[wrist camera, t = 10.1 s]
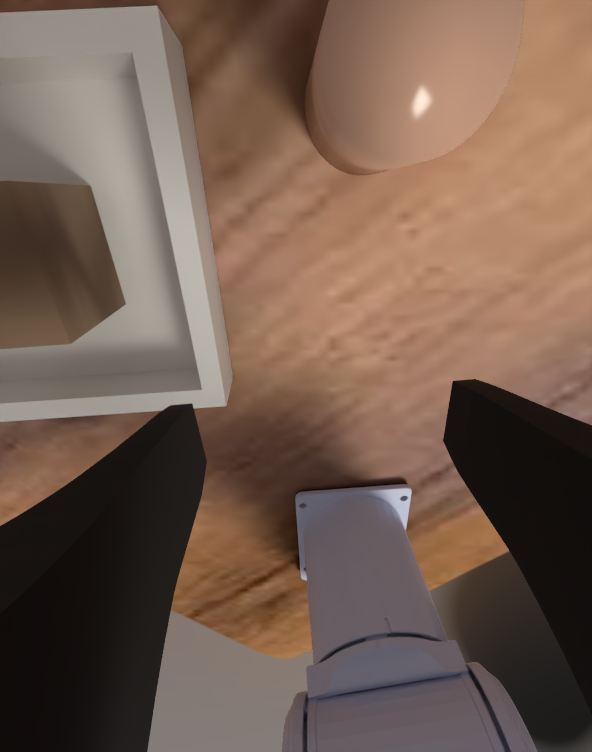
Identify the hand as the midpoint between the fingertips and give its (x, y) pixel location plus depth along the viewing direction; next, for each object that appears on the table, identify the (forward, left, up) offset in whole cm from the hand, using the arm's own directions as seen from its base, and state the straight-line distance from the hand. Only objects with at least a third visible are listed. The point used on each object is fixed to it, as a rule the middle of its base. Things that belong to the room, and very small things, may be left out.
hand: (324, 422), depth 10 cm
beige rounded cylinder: (+9, -3, -9) cm, 13 cm away
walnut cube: (+4, +11, -9) cm, 15 cm away
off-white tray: (+4, +11, -9) cm, 15 cm away
